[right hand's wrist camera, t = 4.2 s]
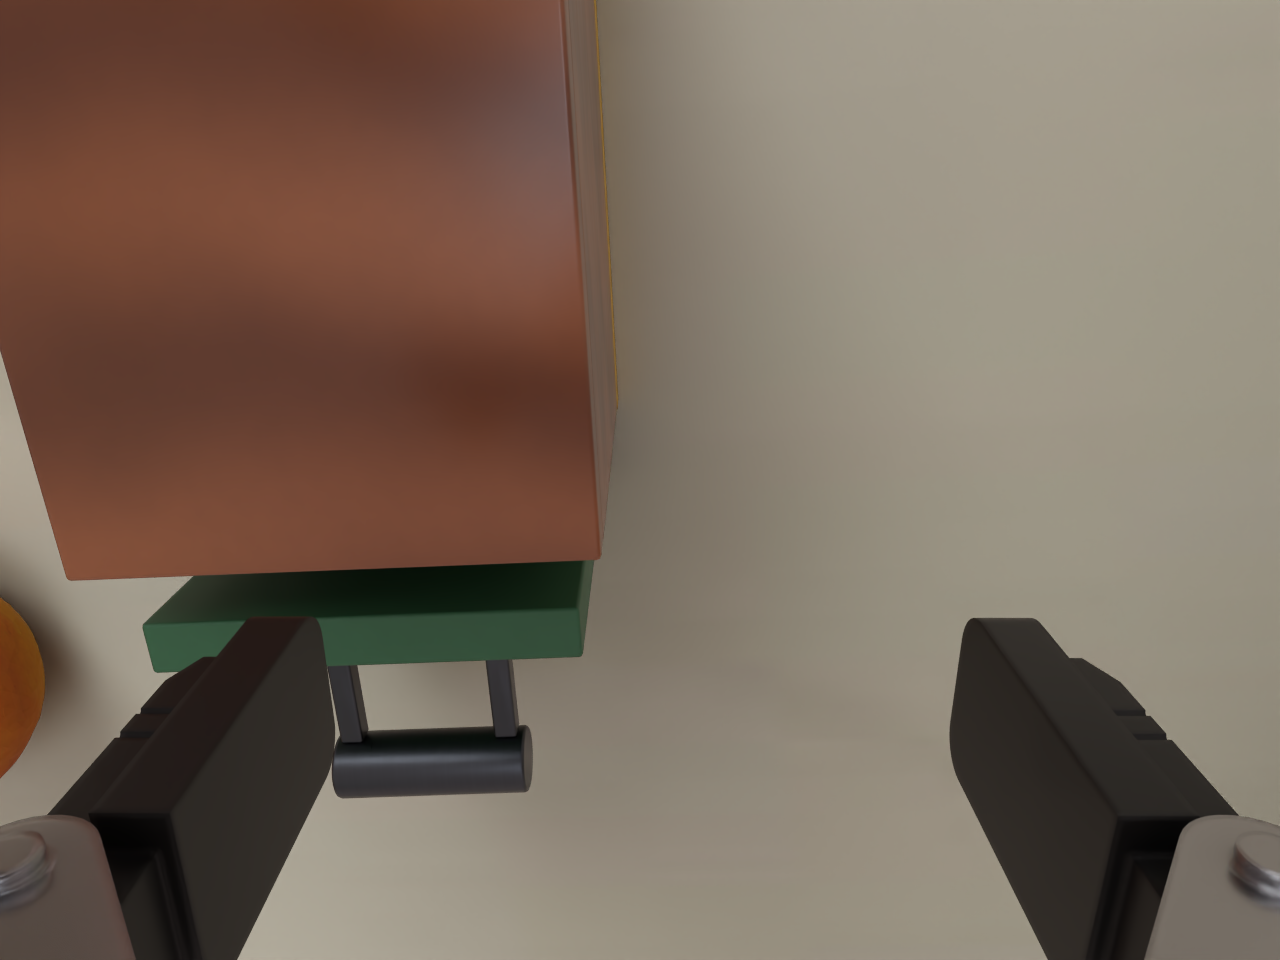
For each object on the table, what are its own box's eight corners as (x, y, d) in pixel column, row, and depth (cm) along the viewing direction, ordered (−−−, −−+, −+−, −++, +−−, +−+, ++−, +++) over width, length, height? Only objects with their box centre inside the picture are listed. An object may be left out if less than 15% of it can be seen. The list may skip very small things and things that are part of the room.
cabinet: (618, 400, 29) (602, 562, 18) (287, 415, 29) (65, 583, 18) (579, -294, 22) (517, -715, 11) (159, -270, 23) (-300, -661, 12)
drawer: (613, 663, 31) (600, 886, 21) (341, 673, 31) (212, 898, 22) (563, -117, 23) (509, -293, 14) (199, -97, 23) (-96, -258, 14)
